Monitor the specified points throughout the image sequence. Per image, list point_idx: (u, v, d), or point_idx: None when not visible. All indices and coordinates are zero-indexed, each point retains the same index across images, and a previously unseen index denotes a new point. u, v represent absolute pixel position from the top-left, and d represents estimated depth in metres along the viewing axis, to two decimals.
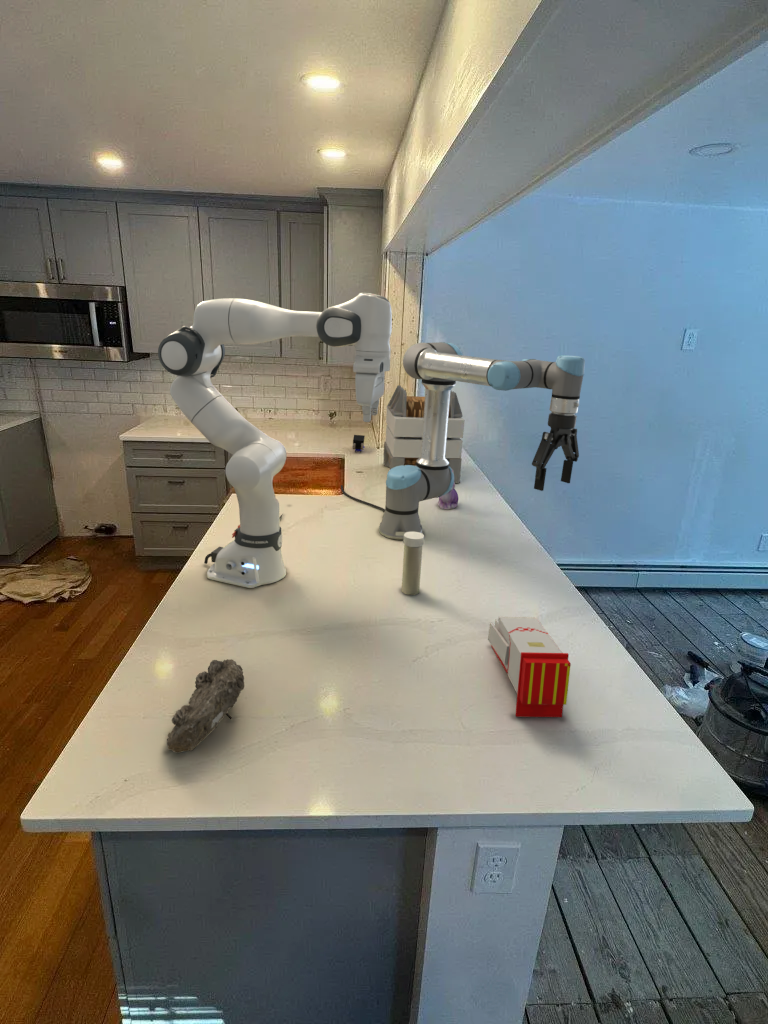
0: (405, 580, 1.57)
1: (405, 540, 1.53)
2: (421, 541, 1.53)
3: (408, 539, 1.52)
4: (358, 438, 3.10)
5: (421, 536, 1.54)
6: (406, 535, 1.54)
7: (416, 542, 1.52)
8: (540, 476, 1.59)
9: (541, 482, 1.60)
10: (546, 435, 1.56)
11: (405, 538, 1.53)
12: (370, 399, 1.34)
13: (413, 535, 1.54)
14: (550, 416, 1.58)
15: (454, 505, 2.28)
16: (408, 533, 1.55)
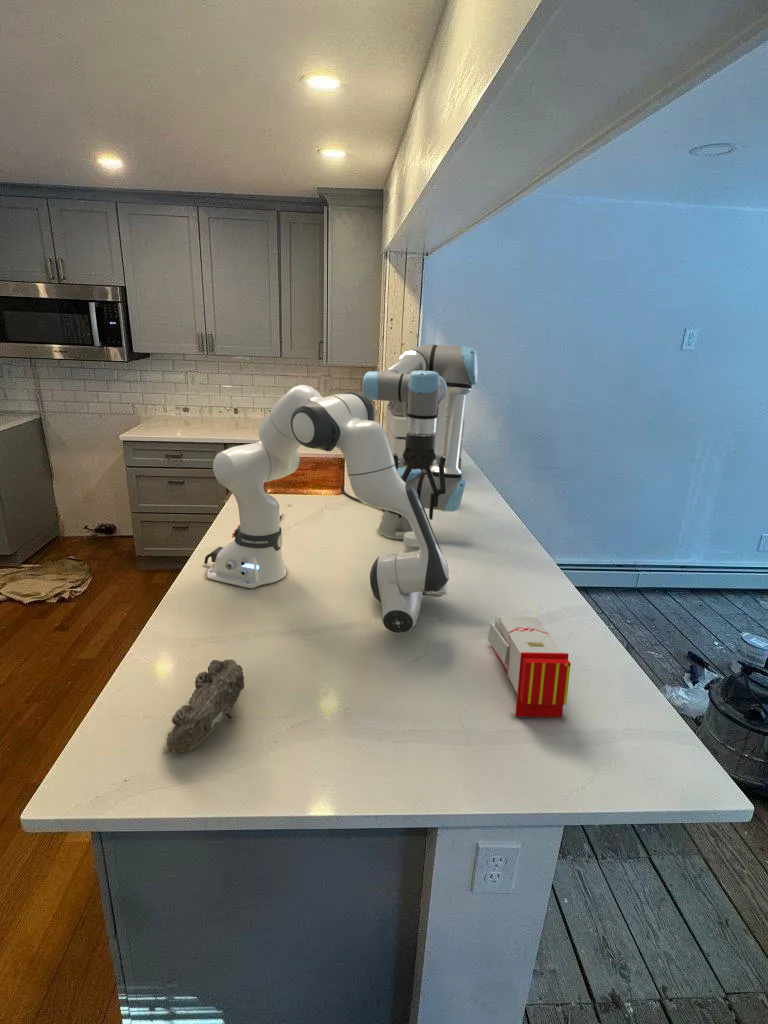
0: None
1: (405, 540, 1.53)
2: None
3: (408, 539, 1.52)
4: None
5: None
6: (406, 535, 1.54)
7: (416, 542, 1.52)
8: None
9: None
10: None
11: (405, 538, 1.53)
12: None
13: (413, 535, 1.54)
14: (433, 439, 1.43)
15: None
16: (408, 533, 1.55)
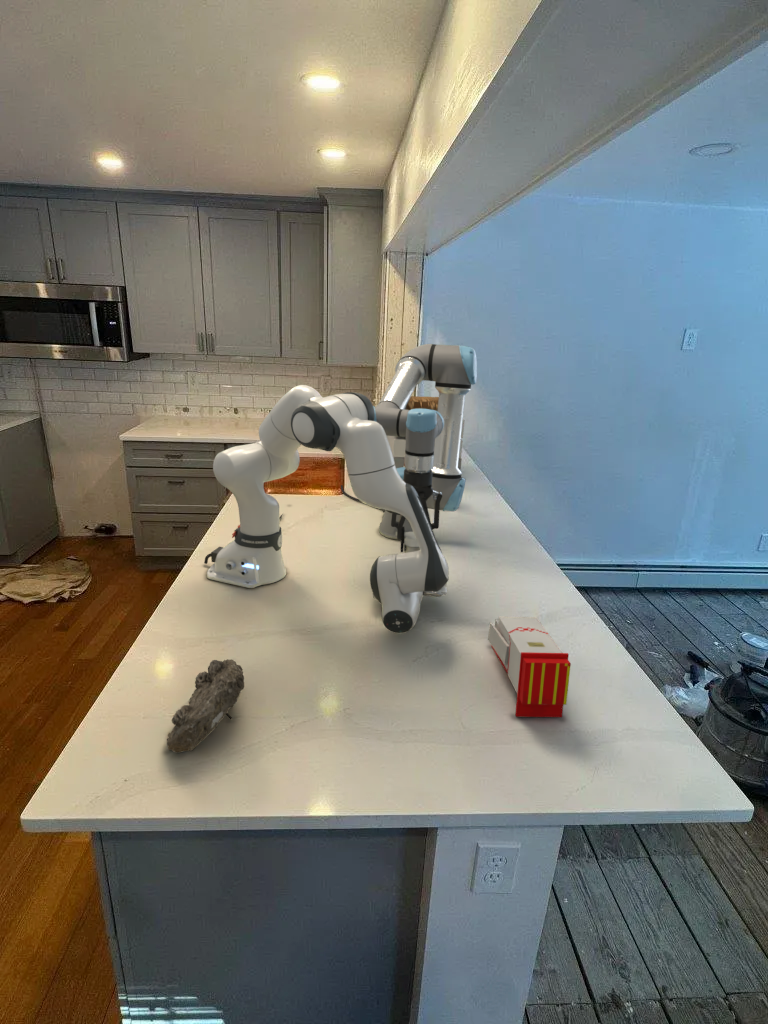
0: None
1: (405, 540, 1.53)
2: None
3: (408, 539, 1.52)
4: None
5: None
6: (406, 535, 1.54)
7: (416, 542, 1.52)
8: None
9: None
10: None
11: (405, 538, 1.53)
12: None
13: (413, 535, 1.54)
14: (431, 475, 1.46)
15: None
16: (408, 533, 1.55)
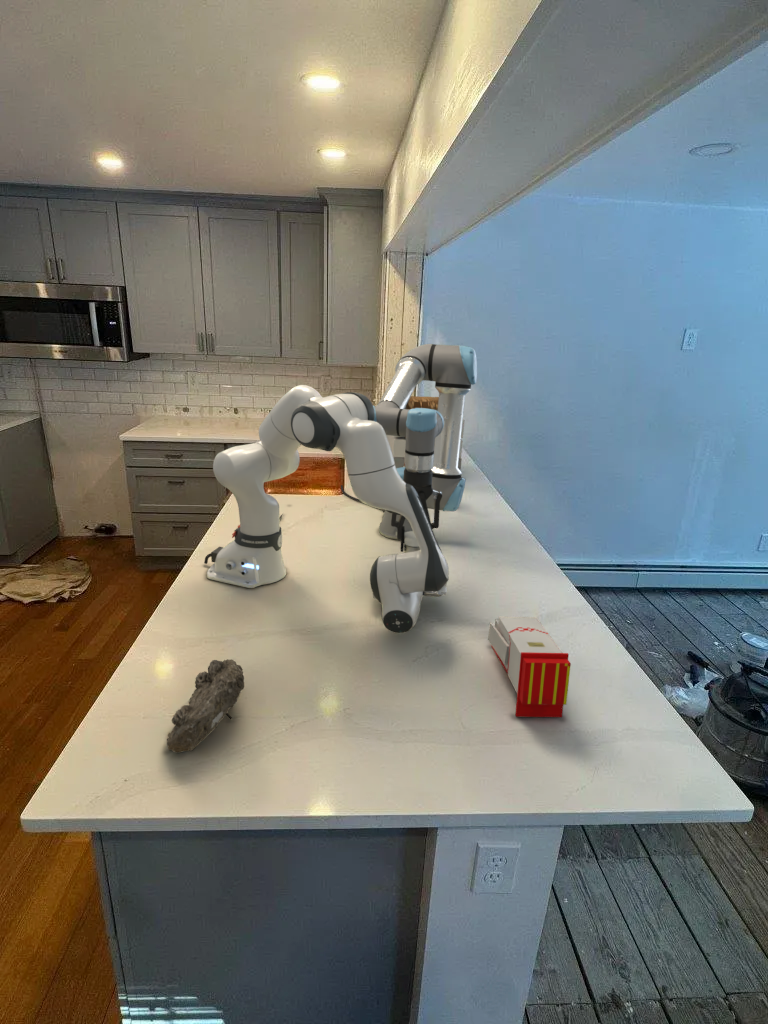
0: None
1: None
2: None
3: None
4: None
5: None
6: None
7: None
8: None
9: None
10: None
11: None
12: None
13: None
14: (431, 474, 1.46)
15: None
16: (412, 537, 1.52)
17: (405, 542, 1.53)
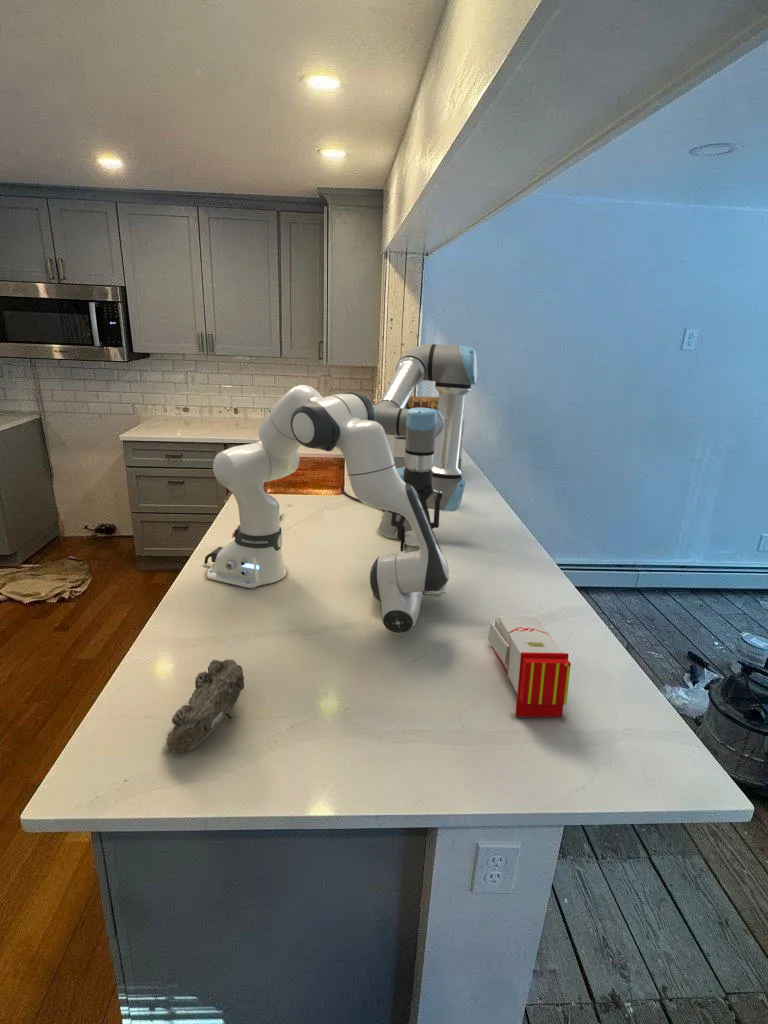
0: None
1: None
2: None
3: None
4: None
5: (407, 535, 1.53)
6: None
7: None
8: None
9: None
10: None
11: None
12: None
13: None
14: (431, 474, 1.46)
15: None
16: None
17: None
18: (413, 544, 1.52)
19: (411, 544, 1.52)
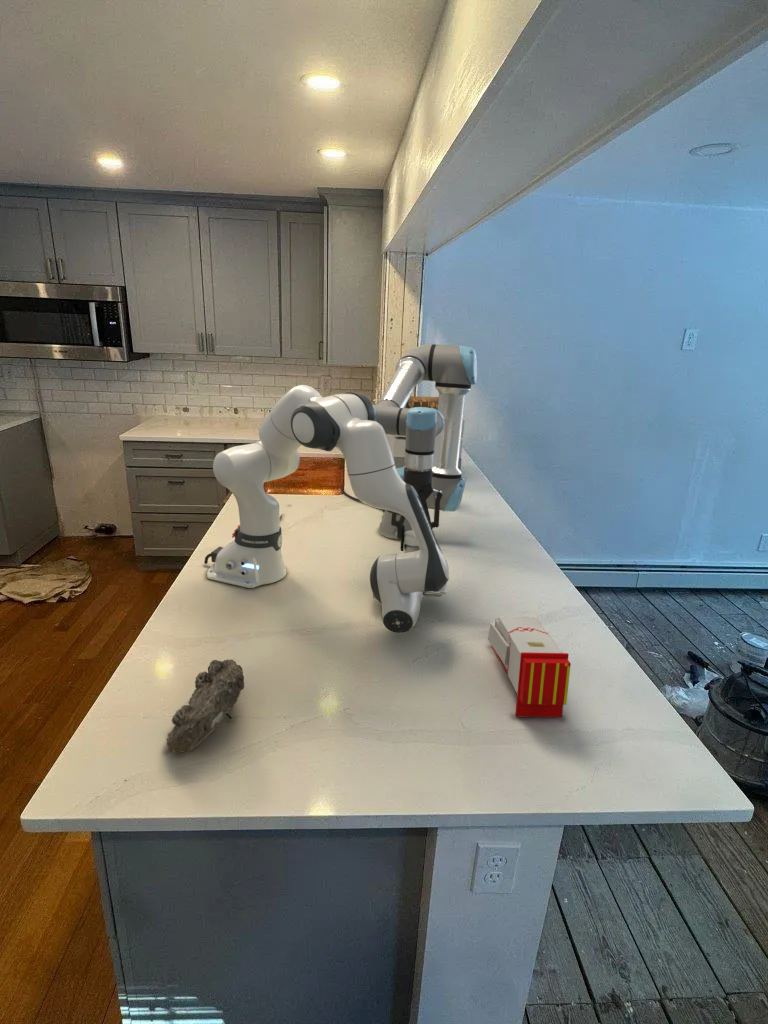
0: None
1: (404, 537, 1.54)
2: None
3: (405, 536, 1.53)
4: None
5: None
6: (406, 532, 1.55)
7: (412, 541, 1.52)
8: None
9: None
10: None
11: (404, 535, 1.54)
12: None
13: (413, 534, 1.54)
14: (431, 473, 1.46)
15: None
16: (410, 531, 1.56)
17: None
18: None
19: None
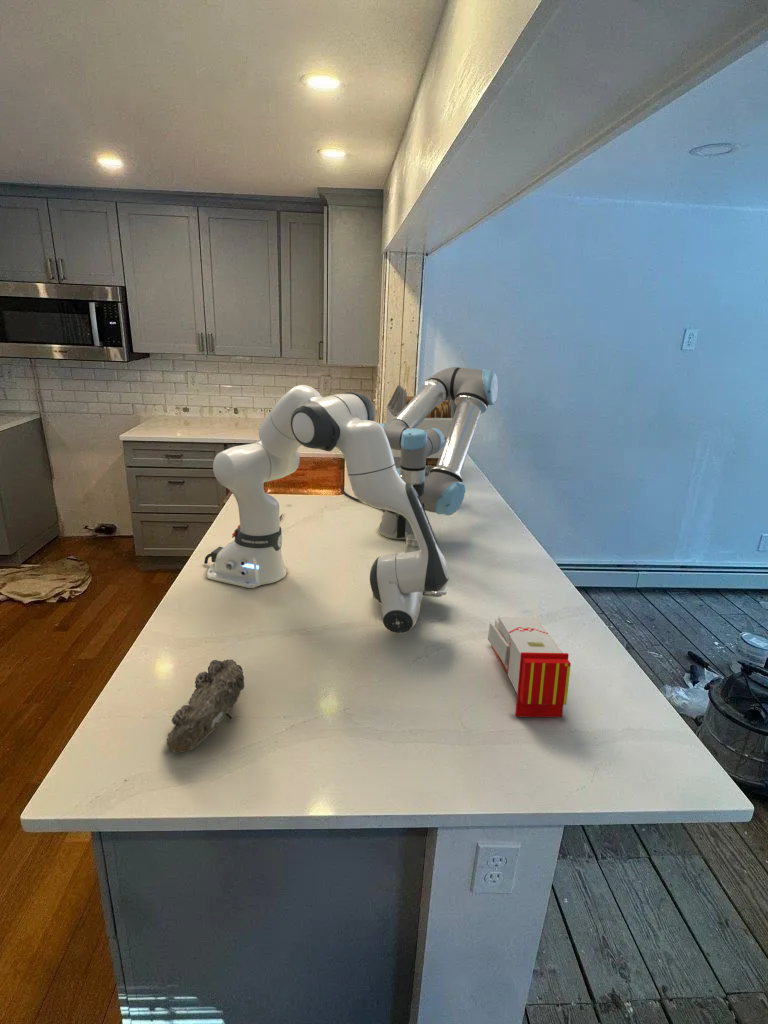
0: None
1: None
2: None
3: None
4: None
5: None
6: None
7: None
8: None
9: None
10: None
11: None
12: None
13: None
14: None
15: None
16: None
17: None
18: None
19: None
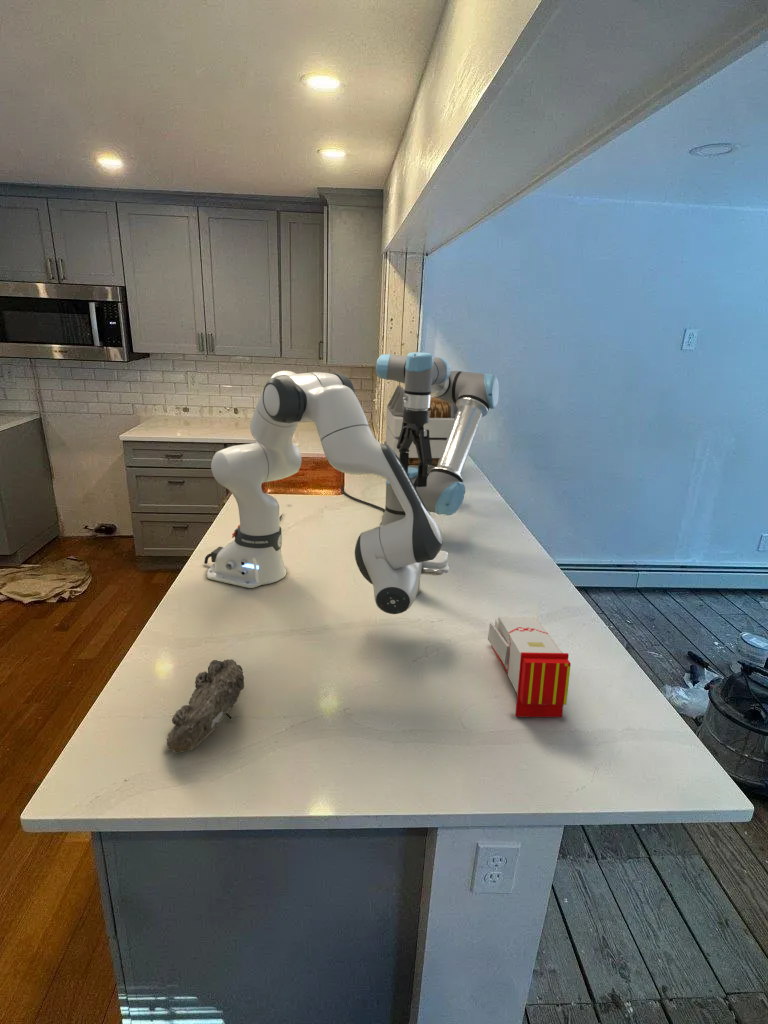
0: None
1: None
2: None
3: None
4: None
5: None
6: None
7: None
8: None
9: None
10: None
11: None
12: None
13: None
14: None
15: None
16: None
17: None
18: None
19: None
